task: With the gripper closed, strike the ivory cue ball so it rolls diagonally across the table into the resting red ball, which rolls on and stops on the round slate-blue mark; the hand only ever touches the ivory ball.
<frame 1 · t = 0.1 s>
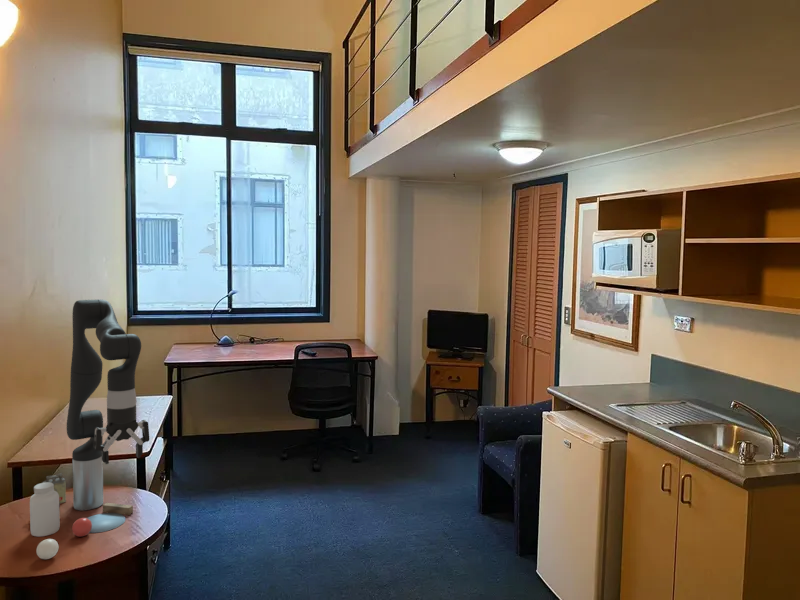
hand: (122, 460, 170), 29 cm above the table, tool pointing down, fingers open, 8 cm apart
pill bottle: (45, 531, 187), on the table
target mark: (101, 522, 194), on the table
red ball: (82, 527, 185), on the table
cue ball: (47, 548, 171), on the table
lighter: (54, 503, 208), on the table
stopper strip: (117, 512, 202), on the table
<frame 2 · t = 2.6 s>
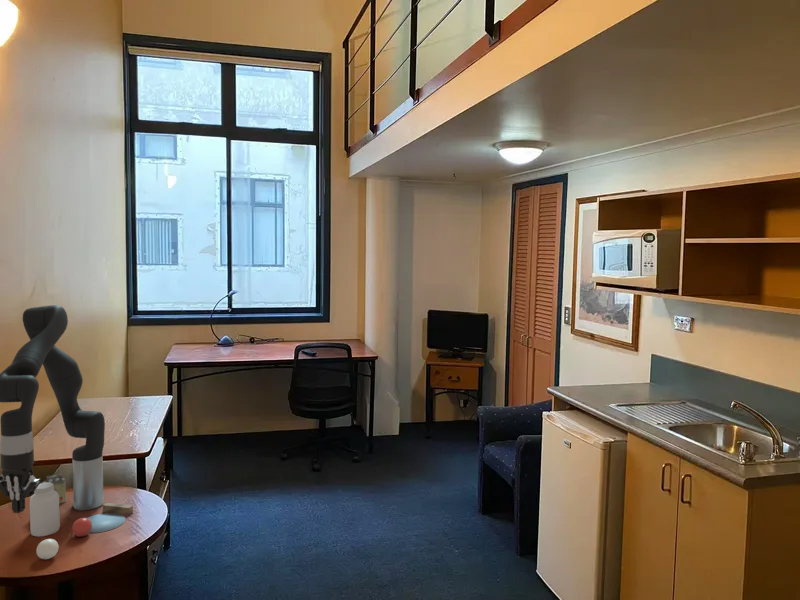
hand: (18, 511, 161), 18 cm above the table, tool pointing down, fingers closed
nothing on the table moved.
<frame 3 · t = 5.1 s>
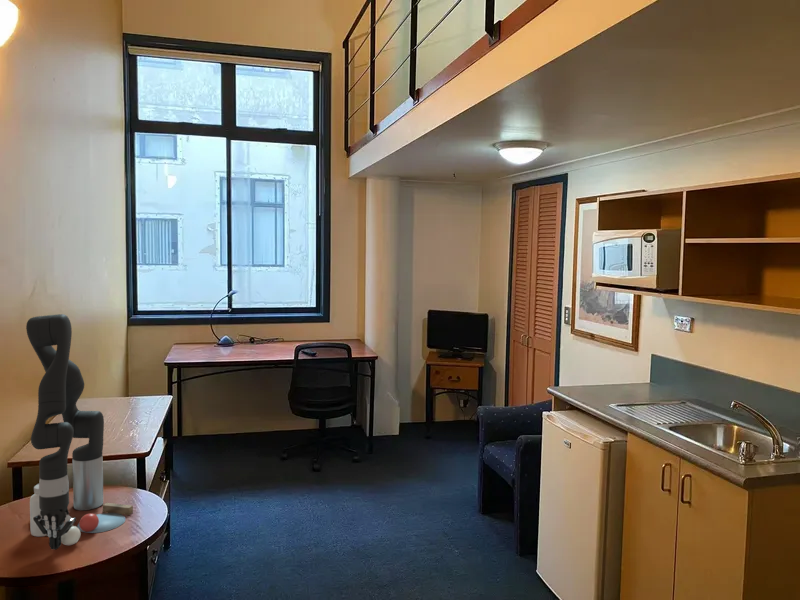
hand: (55, 548, 174), 1 cm above the table, tool pointing down, fingers closed
red ball: (89, 522, 188), on the table
cue ball: (70, 535, 179), on the table
everything else where it was.
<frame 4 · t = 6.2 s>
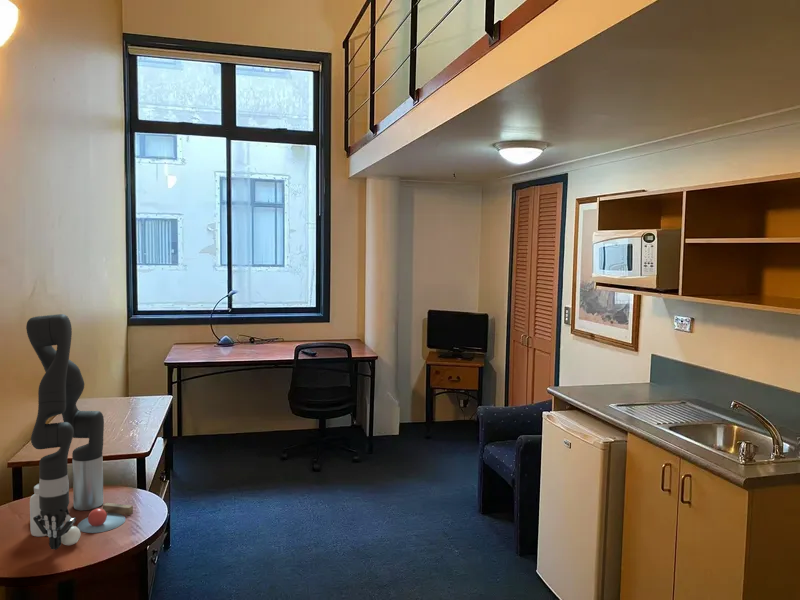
hand: (55, 548, 174), 2 cm above the table, tool pointing down, fingers closed
red ball: (97, 517, 192), on the table
everything else where it was.
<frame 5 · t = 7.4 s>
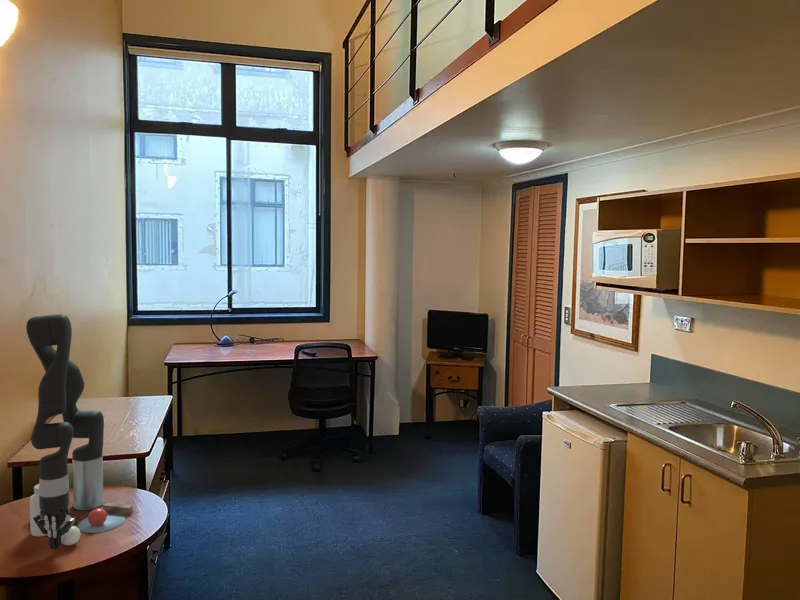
hand: (55, 548, 174), 2 cm above the table, tool pointing down, fingers closed
nothing on the table moved.
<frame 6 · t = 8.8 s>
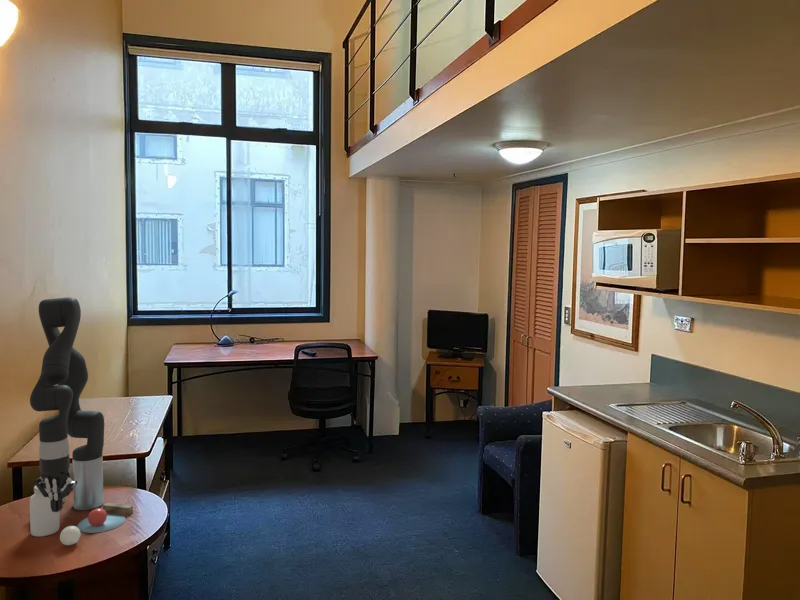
hand: (56, 510, 174), 13 cm above the table, tool pointing down, fingers closed
nothing on the table moved.
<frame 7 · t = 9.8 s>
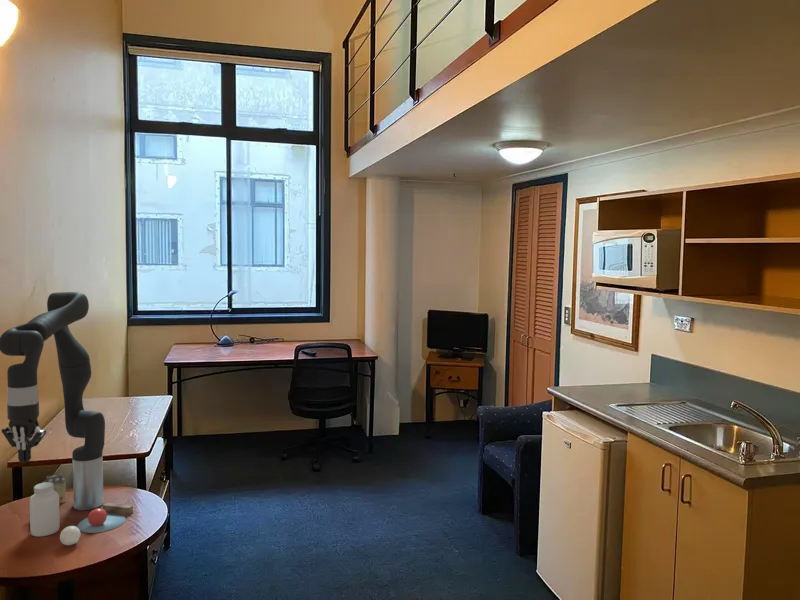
hand: (24, 461, 167), 29 cm above the table, tool pointing down, fingers closed
nothing on the table moved.
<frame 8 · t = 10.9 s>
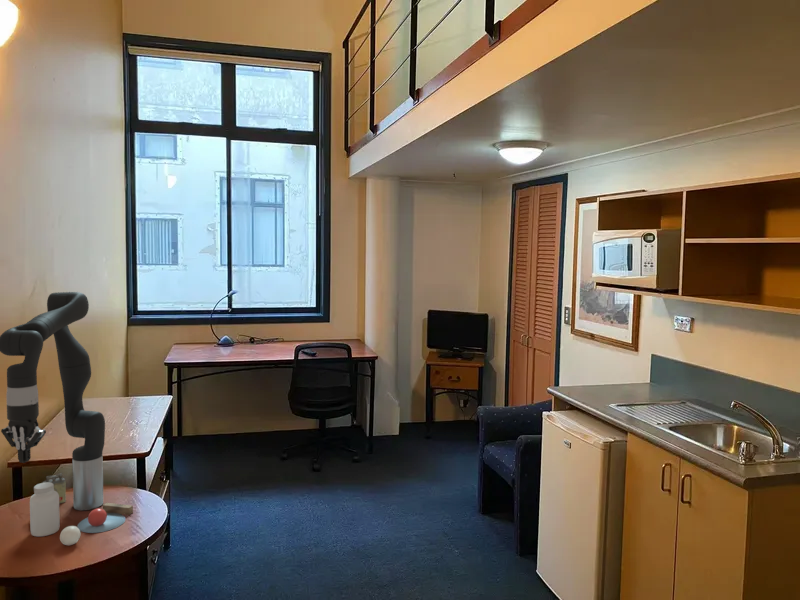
hand: (24, 461, 167), 29 cm above the table, tool pointing down, fingers closed
nothing on the table moved.
at the end: red ball 2.0 cm from the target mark (horizontally); red ball never touched the robot; cue ball first touched red ball at 4.7 s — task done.
